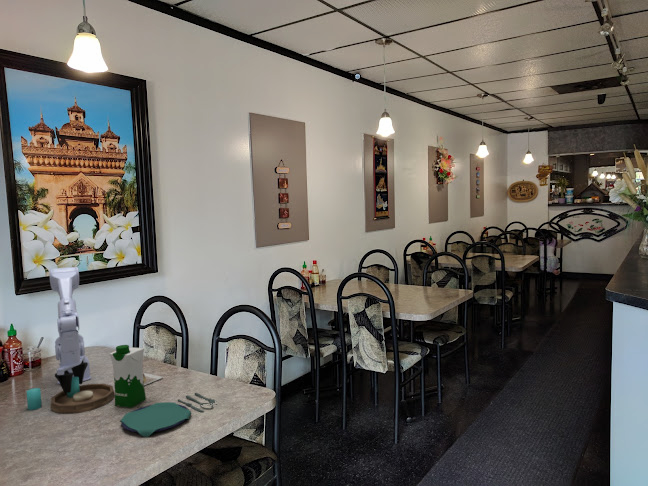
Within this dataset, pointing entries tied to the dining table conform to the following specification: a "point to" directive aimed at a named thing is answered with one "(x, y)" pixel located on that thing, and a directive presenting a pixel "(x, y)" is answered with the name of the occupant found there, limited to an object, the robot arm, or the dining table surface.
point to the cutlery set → (159, 416)
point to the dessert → (151, 377)
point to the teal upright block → (74, 387)
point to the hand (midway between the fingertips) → (73, 388)
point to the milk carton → (128, 376)
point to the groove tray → (86, 405)
